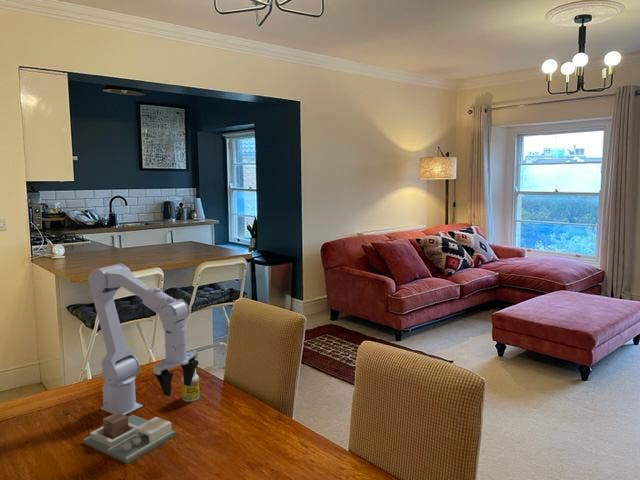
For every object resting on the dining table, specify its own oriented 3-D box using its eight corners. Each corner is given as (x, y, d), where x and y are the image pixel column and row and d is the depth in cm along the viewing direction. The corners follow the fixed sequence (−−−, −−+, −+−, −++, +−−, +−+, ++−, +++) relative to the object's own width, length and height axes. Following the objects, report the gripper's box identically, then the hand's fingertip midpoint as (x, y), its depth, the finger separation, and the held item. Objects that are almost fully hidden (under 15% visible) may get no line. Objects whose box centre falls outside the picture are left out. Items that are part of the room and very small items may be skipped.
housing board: (83, 442, 134) (82, 434, 134) (133, 417, 148) (132, 409, 148) (127, 463, 125) (126, 454, 125) (176, 434, 139) (176, 426, 138)
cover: (135, 437, 135) (135, 427, 135) (156, 426, 141) (156, 416, 141) (151, 443, 132) (150, 433, 132) (171, 432, 138) (171, 422, 138)
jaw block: (104, 439, 136) (102, 418, 135) (118, 432, 140) (117, 412, 139) (114, 444, 134) (113, 423, 133) (129, 437, 137) (128, 416, 137)
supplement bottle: (196, 393, 164) (195, 364, 163) (202, 399, 160) (201, 370, 158) (179, 397, 161) (178, 368, 160) (185, 403, 157) (184, 374, 155)
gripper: (165, 354, 133) (167, 403, 135) (204, 339, 145) (206, 383, 147) (147, 349, 136) (149, 397, 138) (187, 334, 148) (189, 378, 150)
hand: (177, 389), depth 143 cm, fingers open, 7 cm apart
